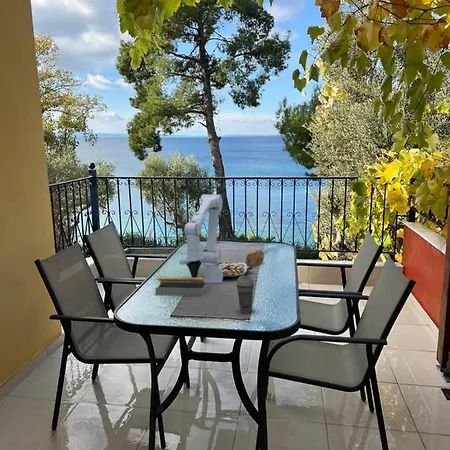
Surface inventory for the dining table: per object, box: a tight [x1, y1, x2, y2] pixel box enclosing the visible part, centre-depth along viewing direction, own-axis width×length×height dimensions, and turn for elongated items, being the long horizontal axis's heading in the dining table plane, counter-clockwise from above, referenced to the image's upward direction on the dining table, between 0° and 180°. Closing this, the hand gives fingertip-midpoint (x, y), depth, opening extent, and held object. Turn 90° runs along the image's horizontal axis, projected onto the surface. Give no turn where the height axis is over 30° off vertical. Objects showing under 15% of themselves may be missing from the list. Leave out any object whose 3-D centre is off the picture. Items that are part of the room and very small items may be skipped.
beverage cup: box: [236, 263, 255, 314], centre depth 175 cm, size 7×7×20 cm
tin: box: [245, 250, 265, 269], centre depth 243 cm, size 15×3×8 cm, turn 143°
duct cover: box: [155, 276, 205, 283], centre depth 202 cm, size 22×9×1 cm, turn 84°
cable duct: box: [155, 281, 206, 297], centre depth 202 cm, size 22×9×4 cm, turn 84°
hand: (194, 277), depth 198 cm, fingers closed
